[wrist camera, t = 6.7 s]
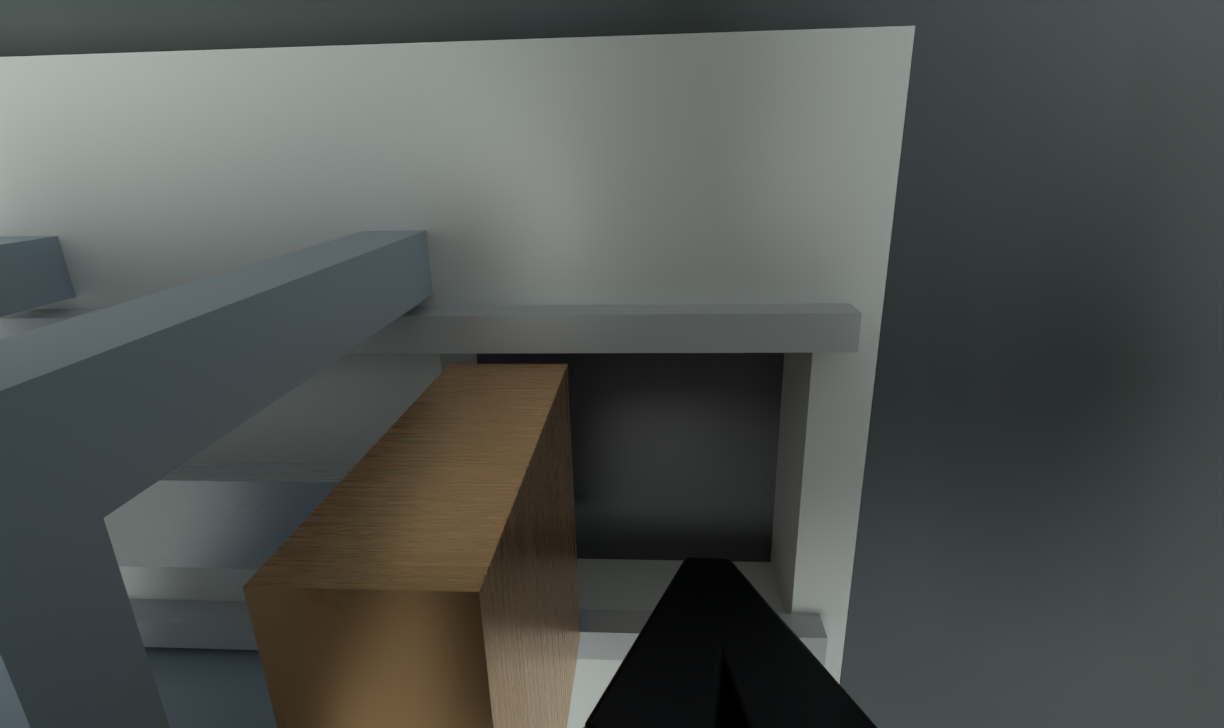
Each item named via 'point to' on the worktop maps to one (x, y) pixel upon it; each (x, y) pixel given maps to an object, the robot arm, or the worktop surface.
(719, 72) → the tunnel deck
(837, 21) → the worktop surface
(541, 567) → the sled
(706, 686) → the robot arm
